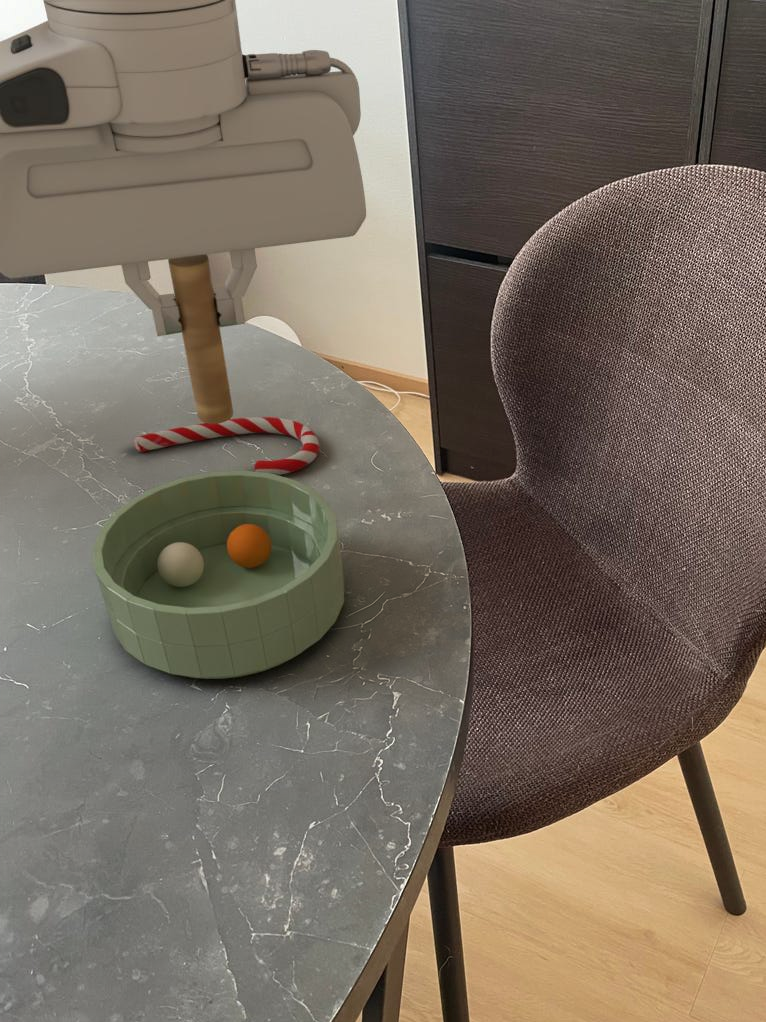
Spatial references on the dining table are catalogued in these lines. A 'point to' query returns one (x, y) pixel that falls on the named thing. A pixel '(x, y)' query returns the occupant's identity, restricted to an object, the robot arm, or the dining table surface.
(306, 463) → the candy cane
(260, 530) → the orange ball
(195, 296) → the stirring stick
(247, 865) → the dining table surface
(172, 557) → the cream ball
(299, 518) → the bowl
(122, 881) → the dining table surface
